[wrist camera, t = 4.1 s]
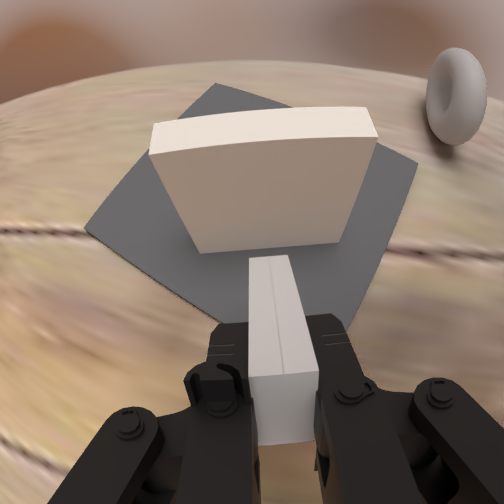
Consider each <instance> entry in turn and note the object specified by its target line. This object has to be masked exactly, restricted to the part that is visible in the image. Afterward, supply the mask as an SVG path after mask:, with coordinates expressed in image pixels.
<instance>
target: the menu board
mask: <svg viewBox="0 0 504 504" xmlns="http://www.w3.org/2000/svg"><path fill="white" fill-rule="evenodd" d="M377 139H378V135H377V132H376V130H375V127H374V125H373V123H372V120H371V118H370V115H369V113H368V111H367V108H366V107H301V108H280V109H265V110H252V111H241V112H231V113H222V114H214V115H206V116H198V117H191V118H185V119H178V120H172V121H166V122H160V123H155V124H154V127H153V132H152V138H151V143H150V149H149V157H150V159H151V161H152V163H153V165H154V167H155V169H156V171H157V173H158V175H159V177H160V179H161V181H162V183H163V185H164V187H165V189H166V191H167V192H168V194H169V196H170V198H171V200H172V202H173V204H174V206H175V208H176V210H177V212H178V214H179V215H180V217H181V219H182V221H183V223H184V225H185V227H186V229H187V231H188V232H189V234H190V236H191V238H192V240H193V242H194V244H195V245H196V247H197V249H198V251H199V253H200V254H203V253H215V252H227V251H240V250H252V249H264V248H277V247H289V246H302V245H314V244H327V243H339V241H340V239H341V236H342V234H343V231H344V229H345V226H346V224H347V221H348V219H349V216H350V213H351V211H352V208H353V206H354V203H355V201H356V198H357V195H358V193H359V190H360V187H361V185H362V182H363V179H364V176H365V174H366V171H367V168H368V165H369V163H370V160H371V157H372V154H373V151H374V148H375V145H376V142H377Z"/></svg>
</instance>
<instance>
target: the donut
mask: <svg viewBox="0 0 504 504" xmlns="http://www.w3.org/2000/svg"><path fill="white" fill-rule="evenodd" d="M486 106H487V84H486V77H485V75H484V72H483V70H482V67H481V65H480V63H479V62H478V61H477V59H476V58H475V57H474V56H473V55H472V54H471V53H470V52H468V51H467V50H464V49H459V48H455V47H454V48H449V49H448V50H445V51H443V52H442V53H441V54H440V55H439V56H438V57H437V59H436V60H435V63H434V65H433V67H432V69H431V72H430V75H429V78H428V84H427V90H426V111H427V117H428V122H429V125H430V127H431V129H432V131H433V133H434V134H435V135H436V136H437V137H438V138H439V139H440V140H441V141H442V142H444V143H446V144H451V145H460V144H463V143H465V142H467V141H469V140H470V139H471V138H472V137H473V135H474V134H475V133H476V132H477V131H478V129H479V127H480V125H481V123H482V120H483V118H484V114H485V110H486Z"/></svg>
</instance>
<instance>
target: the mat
mask: <svg viewBox="0 0 504 504" xmlns="http://www.w3.org/2000/svg"><path fill="white" fill-rule="evenodd" d="M280 108H293V107H290V106H287V105H285V104H282V103H279V102H276V101H273V100H270V99H267V98H264V97H261V96H258V95H255V94H252V93H248V92H245V91H242V90H238V89H235V88H232V87H228V86H225V85H221V84H217V83H215V84H214V85H213V86H211V87H210V88H209V89H208V90H207V91H206V92H205V93H204V94H203V95H202V96H201V97H200V98H199V99H197V100H196V101H195V102H194V103H193V104H192V105H191V106H190V107H189V108H188V109H187V110H186V111H185V112H184V113H183V114H182V115H181V116H180V117H179V118H178V119H185V118H191V117H198V116H206V115H214V114H222V113H231V112H241V111H252V110H265V109H280ZM178 119H177V120H178ZM149 149H150V148H149ZM149 149H148V150H147V152H146V153H145V154H144V155H143V156H142V157H141V158H140V159H139V160H138V162H137V163H136V164H135V165H134V166H133V167H132V168H131V170H130V171H129V172H128V173H127V174H126V175H125V176H124V178H123V179H122V180H121V181H120V182H119V184H118V185H117V186H116V187H115V188H114V190H113V191H112V192H111V193H110V195H109V196H108V197H107V198H106V199H105V201H104V202H103V203H102V205H101V206H100V207H99V208H98V210H97V211H96V212H95V213H94V215H93V216H92V217H91V219H90V220H89V221H88V223H87V224H86V225H85V227H84V229H85V230H86V231H87V232H89V233H90V234H91V235H93V236H94V237H95V238H97V239H98V240H99V241H101V242H102V243H104V244H105V245H106V246H108V247H109V248H110V249H112V250H113V251H115V252H116V253H117V254H119V255H120V256H122V257H123V258H124V259H126V260H127V261H129V262H130V263H131V264H133V265H134V266H136V267H137V268H139V269H140V270H142V271H143V272H144V273H146V274H147V275H149V276H150V277H152V278H153V279H155V280H156V281H158V282H159V283H161V284H162V285H164V286H165V287H167V288H168V289H170V290H171V291H173V292H174V293H176V294H177V295H179V296H180V297H182V298H183V299H185V300H186V301H188V302H189V303H191V304H192V305H194V306H196V307H197V308H199V309H200V310H202V311H203V312H205V313H207V314H208V315H210V316H211V317H213V318H215V319H216V320H218V321H219V322H221V323H239V322H249V258H254V257H267V256H279V255H288V258H289V261H290V265H291V268H292V272H293V275H294V279H295V283H296V286H297V290H298V293H299V297H300V301H301V304H302V308H303V312H304V315H305V316H309V315H319V314H328V313H332V314H333V315H334V316H335V317H337V318H338V319H339V320H340V321H342V324H343V326H344V328H345V331H347V329H348V327H349V325H350V323H351V321H352V320H353V318H354V316H355V314H356V312H357V310H358V308H359V306H360V304H361V301H362V299H363V297H364V295H365V293H366V291H367V289H368V287H369V285H370V283H371V280H372V278H373V276H374V274H375V272H376V270H377V267H378V265H379V263H380V261H381V258H382V256H383V254H384V252H385V249H386V247H387V245H388V242H389V240H390V237H391V235H392V233H393V230H394V228H395V225H396V223H397V220H398V218H399V215H400V213H401V210H402V207H403V205H404V202H405V200H406V197H407V194H408V192H409V189H410V186H411V183H412V180H413V178H414V175H415V172H416V169H417V166H418V163H417V162H415V161H413V160H411V159H409V158H407V157H405V156H403V155H401V154H399V153H397V152H395V151H393V150H391V149H389V148H387V147H385V146H383V145H381V144H379V143H377V142H376V145H375V148H374V151H373V154H372V157H371V160H370V163H369V165H368V168H367V171H366V174H365V176H364V179H363V182H362V185H361V187H360V190H359V193H358V195H357V198H356V201H355V203H354V206H353V208H352V211H351V213H350V216H349V219H348V221H347V224H346V226H345V229H344V231H343V234H342V236H341V239H340V241H339V243H327V244H314V245H302V246H289V247H277V248H264V249H252V250H240V251H227V252H215V253H203V254H200V253H199V251H198V249H197V247H196V245H195V244H194V242H193V240H192V238H191V236H190V234H189V232H188V231H187V229H186V227H185V225H184V223H183V221H182V219H181V217H180V215H179V214H178V212H177V210H176V208H175V206H174V204H173V202H172V200H171V198H170V196H169V194H168V192H167V191H166V189H165V187H164V185H163V183H162V181H161V179H160V177H159V175H158V173H157V171H156V169H155V167H154V165H153V163H152V161H151V159H150V157H149Z"/></svg>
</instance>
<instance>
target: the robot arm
mask: <svg viewBox="0 0 504 504" xmlns="http://www.w3.org/2000/svg"><path fill="white" fill-rule="evenodd" d="M183 381H184V384H185V387H186V391H187V394H188V397H189V400H190V403H191V406H190V407H188V408H187V409H185V410H183V411H180V412H177V413H174V414H170V415H165V416H160V417H155V415H154V414H153V413H152V412H151V411H149V410H147V409H145V408H143V407H128V408H123V409H121V410H119V411H117V412H115V413H113V414H112V415H111V416H110V417H109V418H108V419H107V420H106V421H105V423H104V424H103V425H102V427H101V428H100V430H99V431H98V432H97V434H96V435H95V437H94V438H93V439H92V441H91V442H90V444H89V445H88V446H87V448H86V449H85V451H84V452H83V453H82V455H81V456H80V458H79V459H78V460H77V462H76V463H75V465H74V466H73V468H72V469H71V470H70V472H69V473H68V475H67V476H66V478H65V479H64V480H63V482H62V483H61V485H60V486H59V488H58V489H57V490H56V492H55V493H54V495H53V496H52V498H51V499H50V500H49V502H48V503H47V504H261V490H260V462H259V455H258V446H266V445H279V444H290V443H300V442H308V441H314V434H315V438H316V444H317V451H316V459H315V468H314V471H318V474H319V480H320V486H321V493H322V499H323V504H504V429H503V428H502V427H501V426H500V425H499V424H498V423H497V422H496V421H495V420H494V419H493V418H492V417H491V416H490V415H489V414H488V413H487V412H486V411H485V410H484V409H483V408H482V407H481V406H480V405H479V404H478V403H477V402H476V401H475V400H474V399H473V398H472V397H471V396H470V395H469V394H468V393H467V392H466V391H465V390H464V389H463V388H462V387H461V386H459V385H458V384H456V383H455V382H453V381H452V380H448V379H445V378H430V379H427V380H424V381H423V382H421V383H420V384H419V385H417V387H416V389H415V391H414V393H406V392H391V391H385V390H382V389H379V388H378V387H377V385H376V384H375V383H374V381H372V380H370V379H369V378H367V377H365V376H364V374H363V372H362V369H361V367H360V364H359V362H358V359H357V357H356V355H355V352H354V350H353V347H352V345H351V343H350V340H349V338H348V335H347V334H346V331H345V328H344V326H343V324H342V321H340V320H339V319H338V318H337V317H335V316H334V315H333V314H332V313H328V314H319V315H309V316H305V315H304V312H303V308H302V304H301V301H300V297H299V293H298V290H297V286H296V283H295V279H294V275H293V272H292V268H291V265H290V261H289V258H288V255H279V256H267V257H254V258H249V322H239V323H223V324H218V326H217V327H216V328H215V329H214V331H213V332H212V333H211V336H210V342H209V348H208V356H207V360H206V362H203V363H201V364H199V365H196V366H195V367H194V368H192V369H191V370H190V371H189V372H188V373H187V375H186V377H185V379H184V380H183Z"/></svg>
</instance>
